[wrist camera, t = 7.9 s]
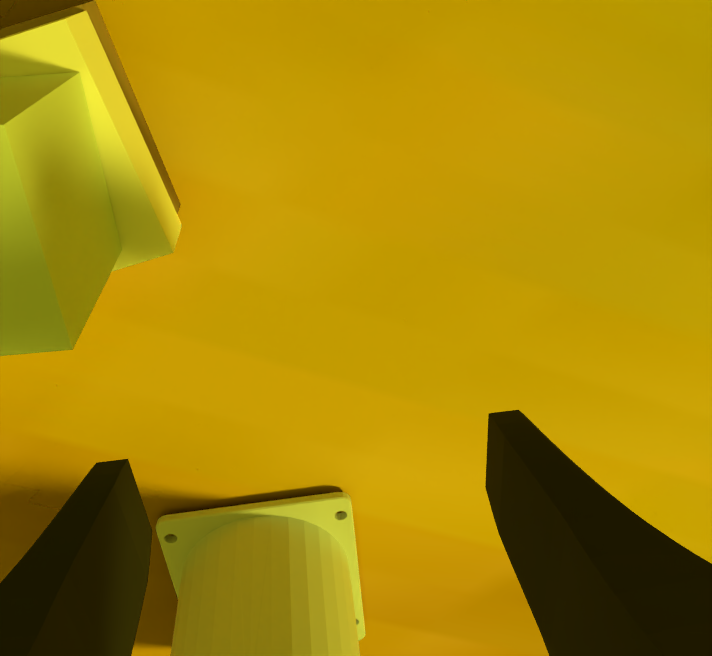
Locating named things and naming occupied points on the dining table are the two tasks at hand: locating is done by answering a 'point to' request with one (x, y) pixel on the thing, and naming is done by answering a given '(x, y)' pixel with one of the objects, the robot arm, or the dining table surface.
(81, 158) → the sage block
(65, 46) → the cream slab
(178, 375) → the dining table surface
